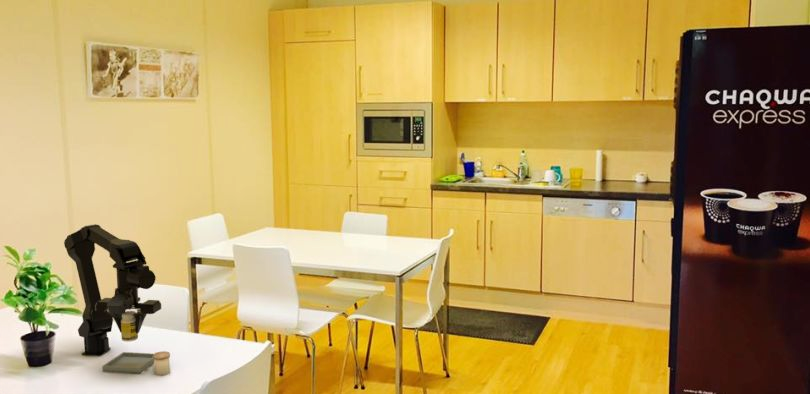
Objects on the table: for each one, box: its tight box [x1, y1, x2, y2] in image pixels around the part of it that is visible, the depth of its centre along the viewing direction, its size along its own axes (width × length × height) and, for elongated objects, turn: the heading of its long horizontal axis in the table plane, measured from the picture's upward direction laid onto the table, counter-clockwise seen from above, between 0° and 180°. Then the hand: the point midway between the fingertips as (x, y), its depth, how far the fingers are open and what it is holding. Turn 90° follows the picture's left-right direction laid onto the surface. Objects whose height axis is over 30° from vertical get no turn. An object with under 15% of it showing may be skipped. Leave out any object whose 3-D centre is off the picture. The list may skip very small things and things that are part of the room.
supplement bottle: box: [120, 310, 139, 342], centre depth 216 cm, size 5×5×8 cm
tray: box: [102, 351, 154, 375], centre depth 218 cm, size 12×12×2 cm
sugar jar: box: [152, 350, 171, 376], centre depth 212 cm, size 5×5×6 cm
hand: (129, 332), depth 217 cm, fingers closed on supplement bottle, 5 cm apart
